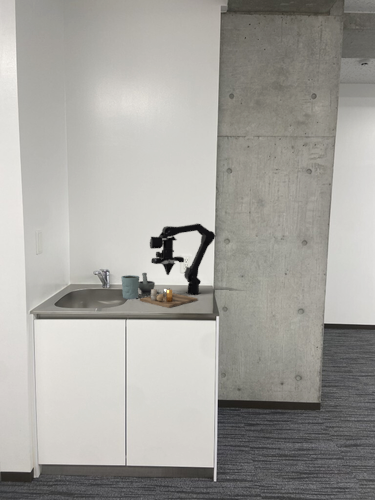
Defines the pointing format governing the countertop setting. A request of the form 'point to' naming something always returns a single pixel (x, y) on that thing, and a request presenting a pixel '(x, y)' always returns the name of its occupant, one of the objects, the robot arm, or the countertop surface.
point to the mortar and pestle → (146, 285)
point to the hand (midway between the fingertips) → (167, 274)
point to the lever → (167, 294)
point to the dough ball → (159, 297)
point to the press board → (175, 301)
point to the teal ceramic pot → (130, 286)
